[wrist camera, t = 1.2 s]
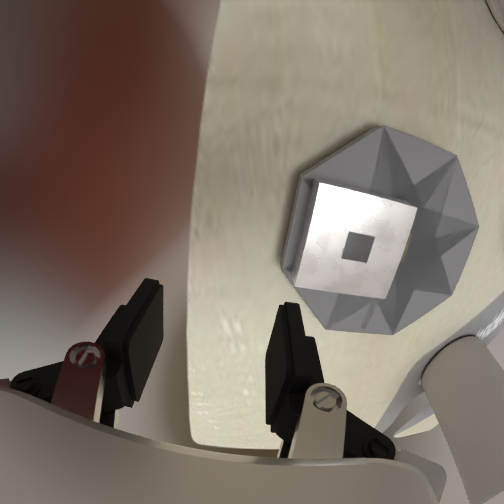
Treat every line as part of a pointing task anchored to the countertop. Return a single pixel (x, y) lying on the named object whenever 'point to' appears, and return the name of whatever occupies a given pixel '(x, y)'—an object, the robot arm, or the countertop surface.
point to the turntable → (420, 238)
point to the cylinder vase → (470, 413)
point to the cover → (351, 240)
